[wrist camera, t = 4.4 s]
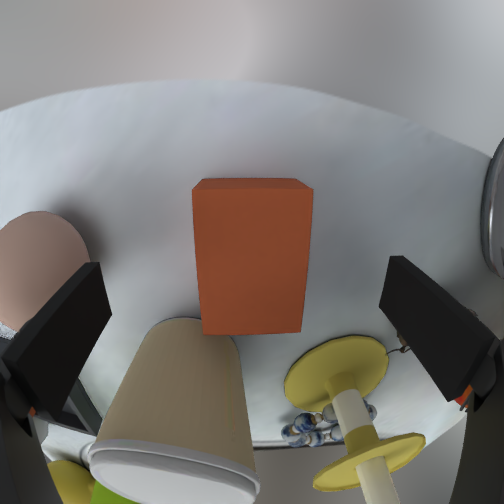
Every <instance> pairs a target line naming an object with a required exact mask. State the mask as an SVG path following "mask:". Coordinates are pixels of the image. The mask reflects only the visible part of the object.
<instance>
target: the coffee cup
mask: <svg viewBox="0 0 504 504" xmlns="http://www.w3.org/2000/svg"><path fill="white" fill-rule="evenodd" d="M87 458H88V462H89V463H90V472H91V474H92V475H93V477H94V478H95V479H96V480H97V481H98V482H99V483H101V484H102V485H103V486H105V487H106V488H108V489H109V490H111V491H113V492H115V493H117V494H119V495H121V496H123V497H125V498H127V499H130V500H132V501H135V502H138V503H141V504H253V503H254V501H255V499H256V495H257V494H258V493H259V491H260V486H261V485H260V480H259V477H258V475H257V474H256V470H255V462H254V454H253V447H252V440H251V433H250V426H249V419H248V413H247V406H246V399H245V392H244V385H243V378H242V371H241V364H240V358H239V353H238V350H237V347H236V345H235V343H234V341H233V340H232V339H231V337H230V336H229V335H203V328H202V320H200V319H196V318H187V317H179V318H172V319H168V320H165V321H162V322H160V323H159V324H157V325H155V326H154V327H153V328H152V329H151V330H150V331H149V332H148V334H147V335H146V337H145V338H144V340H143V342H142V343H141V345H140V347H139V349H138V351H137V353H136V355H135V357H134V359H133V361H132V363H131V365H130V367H129V369H128V371H127V373H126V375H125V377H124V379H123V381H122V383H121V385H120V387H119V389H118V391H117V393H116V395H115V397H114V399H113V402H112V404H111V406H110V408H109V410H108V412H107V415H106V417H105V419H104V421H103V424H102V426H101V428H100V431H99V433H98V436H97V438H96V441H95V443H94V444H92V446H91V447H90V449H89V451H88V456H87Z"/></svg>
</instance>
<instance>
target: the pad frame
mask: <svg viewBox="0 0 504 504" xmlns="http://www.w3.org/2000/svg"><path fill="white" fill-rule="evenodd" d="M9 342H10V340H7V339H4V338H0V353H1V352H2V350H3V349H4V348H5V347H6V345H7V344H8V343H9ZM34 417H36V418H39V419H41V420H44V421H47V422H50V423H53V424H55V425H58V426H61V427H65V428H68V429H71V430H74V431H78V432H81V433H85V434H88V435H92V436H96V437H97V435H98V432H99V429H100V426H101V423H102V419H101V417H100V416H99V414H98V412H97V411H96V409H95V408H94V406H93V404H92V403H91V401H90V399H89V397H88V396H87V394H86V392H85V390H84V388H83V387H82V385H81V383H80V381H79V379H78V378H77V380H76V382H75V384H74V386H73V388H72V390H71V392H70V394H69V396H68V398H67V401H66V403H65V405H64V407H63V409H62V411H61V414H60V416H59V418H58V420H57V423H56V422H53V421H50V420H47V419H44V418H41V417H40V416H39V415H38V414H37V412H35V414H34Z"/></svg>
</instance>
